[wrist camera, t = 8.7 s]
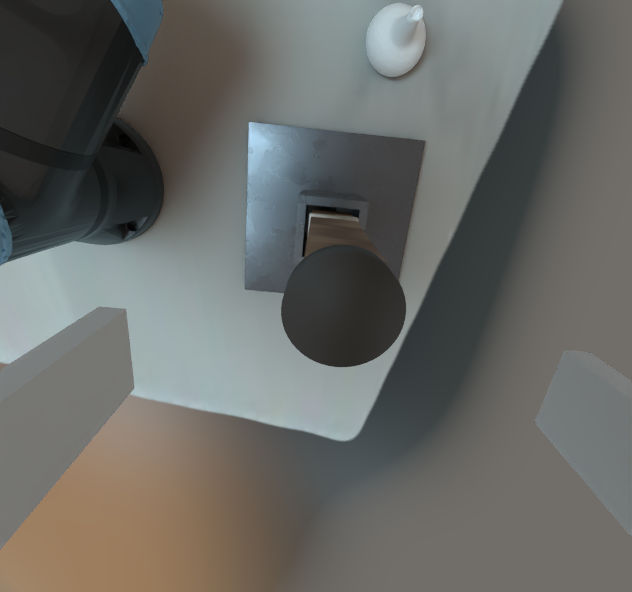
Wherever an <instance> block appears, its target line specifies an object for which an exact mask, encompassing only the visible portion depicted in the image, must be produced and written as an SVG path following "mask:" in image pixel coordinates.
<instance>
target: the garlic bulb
mask: <svg viewBox="0 0 632 592" xmlns="http://www.w3.org/2000/svg"><path fill="white" fill-rule="evenodd" d="M418 6H419V7H418ZM420 7H421V6H420V5H415V6H414V7H412V6H410V5H407V4H404V3H394V4H390V5H388V6H386V7H384V8H383V9H381V10H380V11H379V12H378V13H377V14H376V15H375V16H374V18H373V19H372V21H371V23H370V25H369V27H368V30H367V34H366V53H367V57H368V59H369V61H370V63H371V65H372V66H373V68H374V69H375V70H376V71H378V72H379V73H380V74H382V75H384V76H388V77H397V76H401V75H403V74H405V73H407V72H408V71H410V70H411V69H412V68H413V67H414V66H415V65H416V63H417V62H418V61H419V59H420V57H421V55H422V53H423V50H424V47H425V42H426V29H425V25H424V21H423V19H422V17H423V13H424V12H423V10H422V9H423V8H422V7H421V8H422V9H420Z"/></svg>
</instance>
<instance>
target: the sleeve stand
mask: <svg viewBox="0 0 632 592" xmlns="http://www.w3.org/2000/svg"><path fill="white" fill-rule="evenodd" d="M424 144H425V141H421V140H412V139H403V138H393V137H384V136H375V135H365V134H356V133H347V132H337V131H328V130H319V129H309V128H300V127H291V126H281V125H272V124H263V123H253V122H249V140H248V181H247V222H246V263H245V289H247V290H257V291H268V292H279V293H285V289H286V286H287V282H288V280H289V277H290V275H291V273H292V272H293V270H294V269H295V267H296V266H297V265H298V264H299V263H300V262H301V261H302V260H303V259H304V257H305V251H306V244H307V237H308V226H309V214H310V213H312V209H317V210H327V211H337V212H347V213H351V214H352V215H353V216H354V217H357V218H358V219H359V221H358V223H359V225H360V226H361V228H362V229H363V231H364V232H365V233H366V235H367V236H368V238H369V239H370V240H371V242H372V243H373V245H374V246H375V247H376V249H377V250H378V252H379V253H380V255H381V256H382V257H383V259H384V260H385V262H386V263H387V264H388V267H389V268H390V270H391V271H392V273H393V274H394V275H395V277H396V278H397V280H398V279H399V273H400V268H401V263H402V258H403V253H404V247H405V242H406V237H407V232H408V227H409V221H410V216H411V211H412V206H413V201H414V195H415V190H416V185H417V180H418V175H419V169H420V164H421V159H422V154H423V149H424Z"/></svg>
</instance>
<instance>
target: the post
mask: <svg viewBox="0 0 632 592" xmlns="http://www.w3.org/2000/svg"><path fill="white" fill-rule="evenodd" d="M358 221H359V219H358V218H357V217H354V216H353V215H352V214H351V213H347V212H337V211H327V210H317V209H312V213H310V214H309V226H308V237H307V244H306V251H305V257H304V259H303V260H302V261H301V262H300V263H299V264H298V265H297V266H296V267H295V269H294V270H293V272H292V273H291V275H290V277H289V280H288V282H287V286H286V289H285V293H284V296H283V300H282V307H281V316H282V322H283V326H284V329H285V332H286V334H287V336H288V338H289V339H290V341H291V342H292V344H293V345H294V346H295V347H296V348H297V349H298V350H299V351H300V352H301V353H302V354H304V355H305V356H306V357H308V358H310V359H312V360H313V361H316V362H318V363H321V364H324V365H328V366H334V367H351V366H356V365H360V364H364V363H367V362H369V361H371V360H373V359H375V358H377V357H378V356H380V355H381V354H383V353H384V352H385V351H386V350H387V349H388V348H389V347H390V346H391V345H392V344H393V343H394V342H395V340H396V339H397V337H398V336H399V334H400V332H401V330H402V327H403V324H404V321H405V315H406V302H405V296H404V293H403V290H402V287H401V285H400V283H399V281H398V280H397V278H396V277H395V275H394V274H393V273H392V271H391V270H390V268H389V267H388V264H387V263H386V262H385V260H384V259H383V257H382V256H381V255H380V253H379V252H378V250H377V249H376V247H375V246H374V245H373V243H372V242H371V240H370V239H369V238H368V236H367V235H366V233H365V232H364V231H363V229H362V228H361V226H360V225H359V223H358Z"/></svg>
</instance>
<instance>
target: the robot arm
mask: <svg viewBox="0 0 632 592" xmlns="http://www.w3.org/2000/svg"><path fill="white" fill-rule="evenodd" d="M162 17H163V5H162V0H0V266H1V264H4V263H6V262H9V261H12V260H15V259H18V258H21V257H25V256H28V255H31V254H34V253H37V252H40V251H43V250H47V249H50V248H53V247H56V246H60V245H63V244H66V243H70V242H73V241H77V242H84V243H90V244H97V245H110V244H117V243H121V242H124V241H127V240H130V239H133V238H135V237H137V236H139V235H141V234H142V233H144V232H145V231H146V230H147V229H148V228H149V227H150V226H151V225H152V224H153V223H154V221H155V220H156V218H157V216H158V214H159V212H160V209H161V206H162V201H163V180H162V175H161V171H160V167H159V165H158V162H157V160H156V158H155V156H154V154H153V152H152V150H151V149H150V147H149V146H148V144H147V143H146V142H145V141H144V139H143V138H142V137H141V136H140V135H139V134H138V133H137V132H136V131H135V130H134V129H133V128H131V127H130V126H129V125H127V124H126V123H124V122H123V121H121V120H120V119H118V118H116V116H117V114H118V112H119V110H120V108H121V106H122V104H123V102H124V100H125V98H126V96H127V94H128V92H129V90H130V88H131V86H132V84H133V82H134V80H135V78H136V76H137V74H138V72H139V70H140V68H141V66H145V65H146V64H147V62H148V51H149V49H150V47H151V45H152V42H153V40H154V38H155V36H156V33H157V31H158V29H159V26H160V24H161V21H162ZM133 389H134V379H133V370H132V361H131V351H130V342H129V333H128V323H127V314H126V309H119V308H109V307H98V308H96V309H95V310H93V311H92V312H90V313H89V314H87V315H85V316H84V317H82V318H81V319H79V320H78V321H76V322H74V323H73V324H71V325H70V326H68V327H67V328H65V329H63V330H62V331H60V332H59V333H57V334H56V335H54V336H53V337H51V338H49V339H48V340H46V341H45V342H43V343H42V344H40V345H38V346H37V347H35V348H34V349H32V350H31V351H29V352H28V353H26V354H24V355H23V356H21V357H20V358H18V359H17V360H15V361H13V362H12V363H10V364H9V365H7V366H6V367H4V368H3V369H1V370H0V550H1V548H2V547H3V546H4V545H5V544H6V542H7V541H8V540H9V539H10V538H11V536H12V535H13V534H14V533H15V531H16V530H17V529H18V528H19V526H20V525H21V524H22V523H23V522H24V521H25V519H26V518H27V517H28V516H29V515H30V513H31V512H32V511H33V510H34V508H35V507H36V506H37V505H38V504H39V503H40V501H41V500H42V499H43V497H45V495H46V494H47V493H48V492H49V491H50V489H51V488H52V487H53V486H54V484H55V483H56V482H57V481H58V480H59V478H60V477H61V476H62V475H63V474H64V472H65V471H66V470H67V469H68V468H69V466H70V465H71V464H72V463H73V462H74V460H75V459H76V458H77V457H78V455H79V454H80V453H81V452H82V451H83V450H84V448H85V447H86V446H87V445H88V443H89V442H90V441H91V440H92V439H93V437H94V436H95V435H96V434H97V433H98V431H99V430H100V429H101V428H102V426H103V425H104V424H105V423H106V422H107V420H108V419H109V418H110V417H111V416H112V415H113V413H114V412H115V411H116V410H117V409H118V407H119V406H120V405H121V404H122V402H123V401H124V400H125V399H126V398H127V396H128V395H129V394H130V393H131V392H132V390H133ZM535 424H536V425H537V426H538V427H539V428H540V429H541V431H542V432H543V433H544V434H545V435H546V437H547V438H548V439H549V440H550V441H551V442H552V444H553V445H554V446H555V447H556V448H557V449H558V451H559V452H560V453H561V454H562V455H563V457H564V458H565V459H566V460H567V461H568V462H569V464H570V465H571V466H572V467H573V468H574V470H575V471H576V472H577V473H578V474H579V475H580V477H581V478H582V479H583V480H584V481H585V482H586V484H587V485H588V486H589V487H590V489H591V490H592V491H593V492H594V493H595V494H596V495H597V496H598V498H599V499H600V500H601V501H602V503H603V504H604V505H605V506H606V507H607V508H608V510H609V511H610V512H611V513H612V514H613V516H614V517H615V518H616V519H617V520H618V521H619V523H620V524H621V525H622V526H623V527H624V528H625V530H626V531H627V532H628V533H629V535H630V536H631V537H632V381H630V380H629V379H627V378H626V377H624V376H623V375H622V374H620V373H619V372H617V371H616V370H614V369H613V368H611V367H610V366H608V365H607V364H605V363H604V362H602V361H601V360H600V359H598V358H597V357H595V356H594V355H592V354H591V353H589V352H581V351H570V350H564V353H563V355H562V357H561V360H560V362H559V365H558V367H557V370H556V372H555V374H554V377H553V379H552V382H551V384H550V387H549V389H548V391H547V394H546V397H545V399H544V401H543V403H542V406H541V408H540V411H539V413H538V416H537V418H536V420H535Z"/></svg>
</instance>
